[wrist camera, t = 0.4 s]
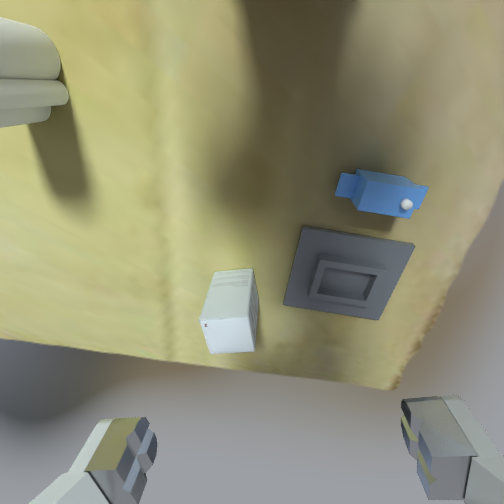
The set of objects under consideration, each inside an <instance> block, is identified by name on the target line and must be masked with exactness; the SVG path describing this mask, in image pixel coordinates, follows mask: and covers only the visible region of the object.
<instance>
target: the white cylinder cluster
mask: <svg viewBox="0 0 504 504" xmlns="http://www.w3.org/2000/svg"><path fill="white" fill-rule="evenodd" d="M60 70H61V61H60V57H59V53H58V50H57V49H56V47H55V45H54V43H53V41H52V40H51V39H50V38H49V37H48V36H47V34H46V33H44V32H43V31H41V30H40V29H39V28H37V27H34V26H32V25H29V24H25V23H21V22H17V21H13V20H9V19H6V18H2V17H0V128H2V127H9V126H16V125H23V124H30V123H37V122H43V121H45V120H47V119H48V118H49V117H50V114H51V106H56V105H65V104H66V103H67V102H68V99H69V94H68V90H67V88H66V87H65V85H64V84H63V83H62V82H60V81H58V80H56V79H57V78H58V76H59V73H60Z"/></svg>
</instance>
